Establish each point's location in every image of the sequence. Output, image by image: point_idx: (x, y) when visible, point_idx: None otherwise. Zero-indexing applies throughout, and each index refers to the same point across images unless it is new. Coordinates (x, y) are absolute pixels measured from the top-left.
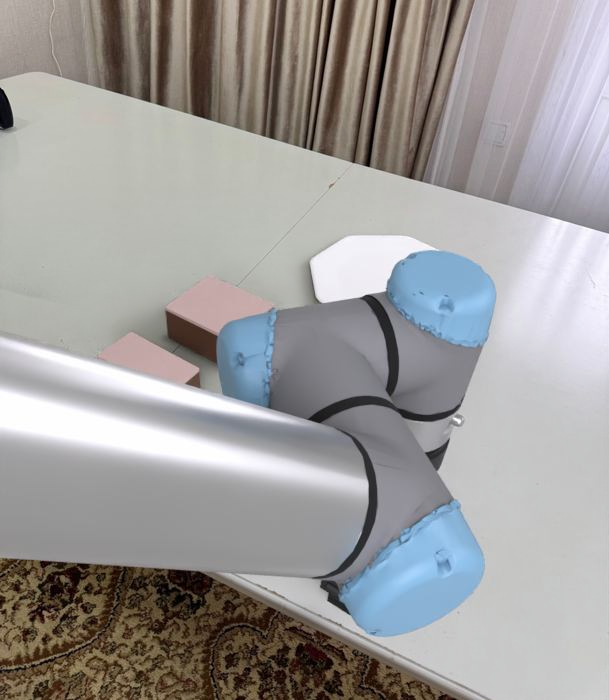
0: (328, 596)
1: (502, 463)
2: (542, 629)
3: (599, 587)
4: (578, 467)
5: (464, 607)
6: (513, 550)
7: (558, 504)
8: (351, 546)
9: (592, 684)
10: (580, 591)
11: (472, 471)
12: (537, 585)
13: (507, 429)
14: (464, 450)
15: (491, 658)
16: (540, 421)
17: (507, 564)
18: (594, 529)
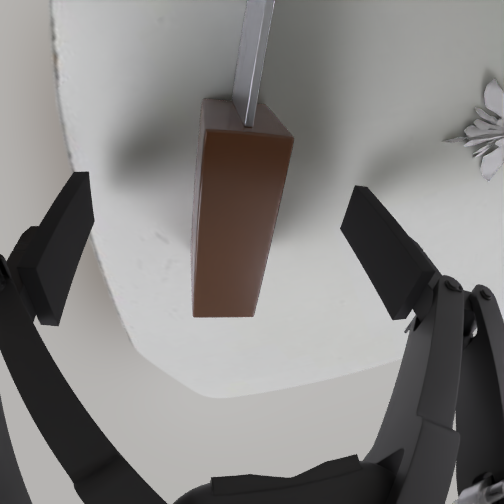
0: (67, 182)
1: None
2: (243, 368)
3: (313, 381)
4: None
5: (224, 317)
6: (333, 329)
7: (401, 337)
8: None
9: (212, 396)
10: (302, 375)
11: (441, 259)
12: (294, 355)
13: (491, 270)
14: (471, 241)
15: (179, 349)
16: (495, 291)
17: (310, 331)
18: (376, 362)
